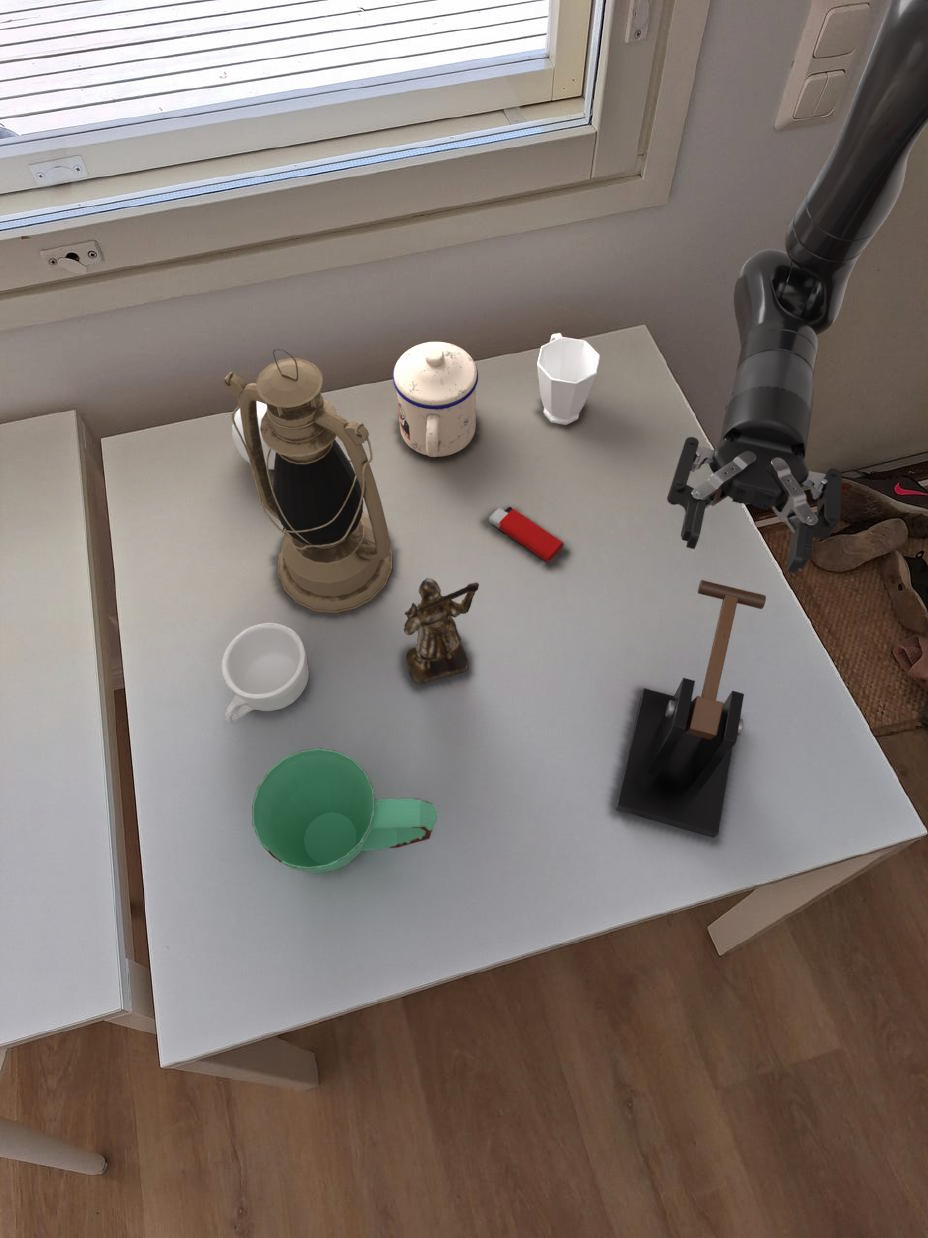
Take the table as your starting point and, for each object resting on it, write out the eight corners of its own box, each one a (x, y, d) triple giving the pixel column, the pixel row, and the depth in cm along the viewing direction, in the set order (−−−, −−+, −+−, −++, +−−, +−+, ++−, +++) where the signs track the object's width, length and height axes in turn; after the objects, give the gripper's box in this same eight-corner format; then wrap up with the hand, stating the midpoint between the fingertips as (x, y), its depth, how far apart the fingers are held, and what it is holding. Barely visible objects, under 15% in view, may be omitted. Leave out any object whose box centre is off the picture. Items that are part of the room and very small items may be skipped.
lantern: (245, 579, 92) (155, 370, 66) (305, 496, 97) (243, 271, 71) (367, 634, 89) (323, 437, 62) (422, 546, 94) (403, 328, 67)
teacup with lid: (402, 397, 104) (394, 320, 93) (479, 399, 103) (480, 323, 93) (392, 479, 98) (383, 406, 88) (474, 482, 98) (475, 410, 87)
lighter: (547, 558, 91) (488, 516, 94) (546, 564, 93) (487, 523, 95) (564, 540, 92) (504, 500, 95) (563, 547, 94) (504, 507, 96)
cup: (538, 437, 101) (543, 387, 94) (521, 373, 105) (524, 321, 98) (598, 429, 101) (608, 378, 94) (578, 365, 106) (586, 313, 99)
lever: (698, 584, 77) (703, 575, 75) (761, 600, 76) (769, 591, 74) (664, 727, 74) (669, 722, 71) (730, 745, 73) (737, 741, 71)
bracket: (641, 693, 85) (667, 631, 74) (734, 718, 84) (775, 659, 73) (615, 809, 80) (639, 762, 69) (714, 838, 79) (755, 794, 67)
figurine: (474, 633, 89) (475, 552, 75) (486, 666, 87) (489, 589, 74) (403, 653, 88) (391, 573, 75) (413, 686, 86) (403, 611, 73)
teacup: (268, 635, 89) (256, 609, 84) (330, 671, 87) (322, 646, 82) (204, 714, 85) (188, 691, 80) (267, 754, 83) (255, 733, 78)
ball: (289, 494, 97) (274, 447, 90) (227, 469, 99) (208, 421, 92) (325, 442, 101) (314, 393, 93) (265, 419, 102) (249, 369, 95)
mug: (269, 895, 77) (243, 868, 68) (282, 785, 81) (259, 747, 72) (438, 897, 76) (434, 870, 68) (441, 787, 81) (437, 749, 72)
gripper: (700, 367, 79) (667, 510, 72) (862, 401, 77) (846, 551, 70) (682, 423, 86) (651, 559, 78) (831, 456, 84) (813, 598, 76)
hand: (743, 555), depth 74 cm, fingers open, 8 cm apart
